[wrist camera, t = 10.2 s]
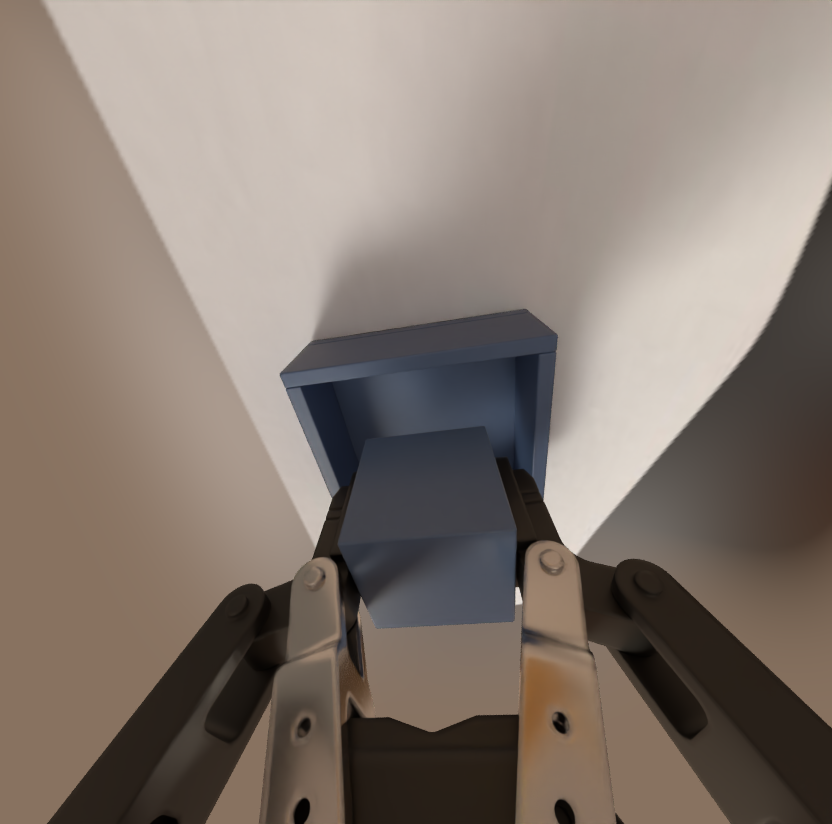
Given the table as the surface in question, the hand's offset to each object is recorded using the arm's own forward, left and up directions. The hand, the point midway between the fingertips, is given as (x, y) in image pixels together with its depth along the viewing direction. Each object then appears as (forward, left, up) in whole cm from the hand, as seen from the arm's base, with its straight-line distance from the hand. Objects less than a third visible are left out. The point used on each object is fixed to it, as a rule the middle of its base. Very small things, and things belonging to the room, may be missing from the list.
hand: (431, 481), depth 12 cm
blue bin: (0, 0, -5) cm, 5 cm away
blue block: (0, 0, 0) cm, 0 cm away
